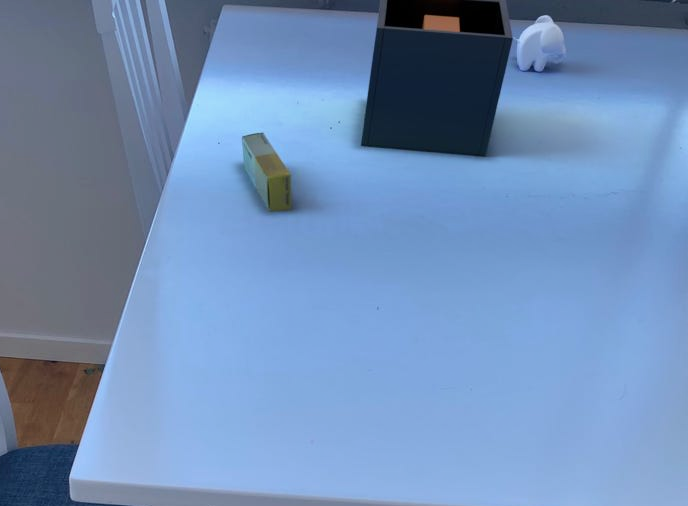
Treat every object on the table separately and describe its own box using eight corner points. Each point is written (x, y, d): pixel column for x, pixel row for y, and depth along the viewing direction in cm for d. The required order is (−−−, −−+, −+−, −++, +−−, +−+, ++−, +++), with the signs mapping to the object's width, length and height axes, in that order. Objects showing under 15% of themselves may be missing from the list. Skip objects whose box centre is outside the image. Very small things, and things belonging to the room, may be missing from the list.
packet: (439, 119, 117) (459, 17, 109) (439, 137, 113) (460, 32, 105) (407, 116, 117) (424, 14, 109) (406, 134, 113) (424, 30, 105)
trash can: (479, 117, 120) (505, 0, 111) (484, 162, 110) (513, 38, 101) (365, 108, 121) (381, -9, 112) (359, 151, 112) (376, 27, 102)
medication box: (242, 172, 107) (240, 134, 104) (265, 168, 107) (264, 130, 104) (268, 215, 99) (267, 176, 96) (293, 211, 99) (292, 171, 96)
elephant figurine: (566, 78, 131) (579, 29, 127) (508, 75, 131) (519, 26, 127) (558, 62, 135) (571, 14, 131) (502, 59, 136) (513, 11, 131)
